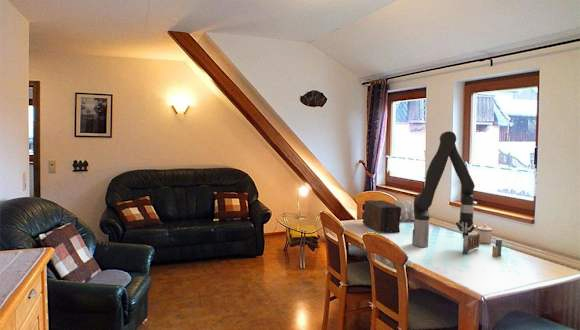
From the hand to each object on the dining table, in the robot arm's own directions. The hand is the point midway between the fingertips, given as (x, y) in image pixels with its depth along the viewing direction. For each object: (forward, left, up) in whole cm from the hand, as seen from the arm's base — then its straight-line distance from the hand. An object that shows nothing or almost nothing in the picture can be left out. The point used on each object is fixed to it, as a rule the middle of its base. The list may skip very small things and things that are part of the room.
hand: (465, 238), depth 260 cm
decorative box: (-44, +47, -7) cm, 65 cm away
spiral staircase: (-17, +78, -7) cm, 80 cm away
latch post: (+14, -13, -6) cm, 20 cm away
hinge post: (-5, -12, -6) cm, 14 cm away
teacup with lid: (+19, +20, -7) cm, 29 cm away
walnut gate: (+3, -5, -5) cm, 8 cm away
